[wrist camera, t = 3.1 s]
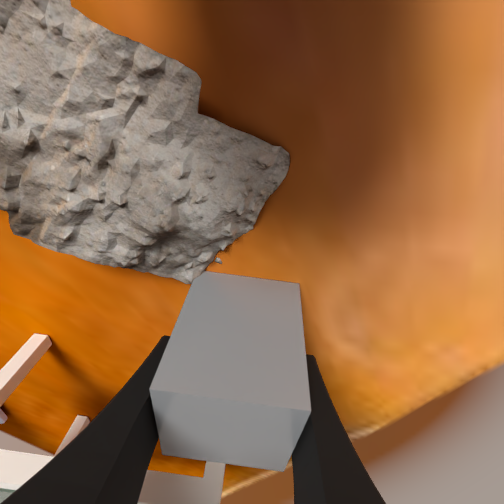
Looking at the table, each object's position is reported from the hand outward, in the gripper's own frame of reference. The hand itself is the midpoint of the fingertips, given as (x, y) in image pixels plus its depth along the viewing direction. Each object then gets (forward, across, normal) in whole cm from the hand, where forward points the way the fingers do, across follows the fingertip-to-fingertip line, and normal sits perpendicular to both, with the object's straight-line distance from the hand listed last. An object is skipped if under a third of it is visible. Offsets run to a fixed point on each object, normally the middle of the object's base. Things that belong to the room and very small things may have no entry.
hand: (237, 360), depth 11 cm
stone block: (+3, 0, 0) cm, 3 cm away
